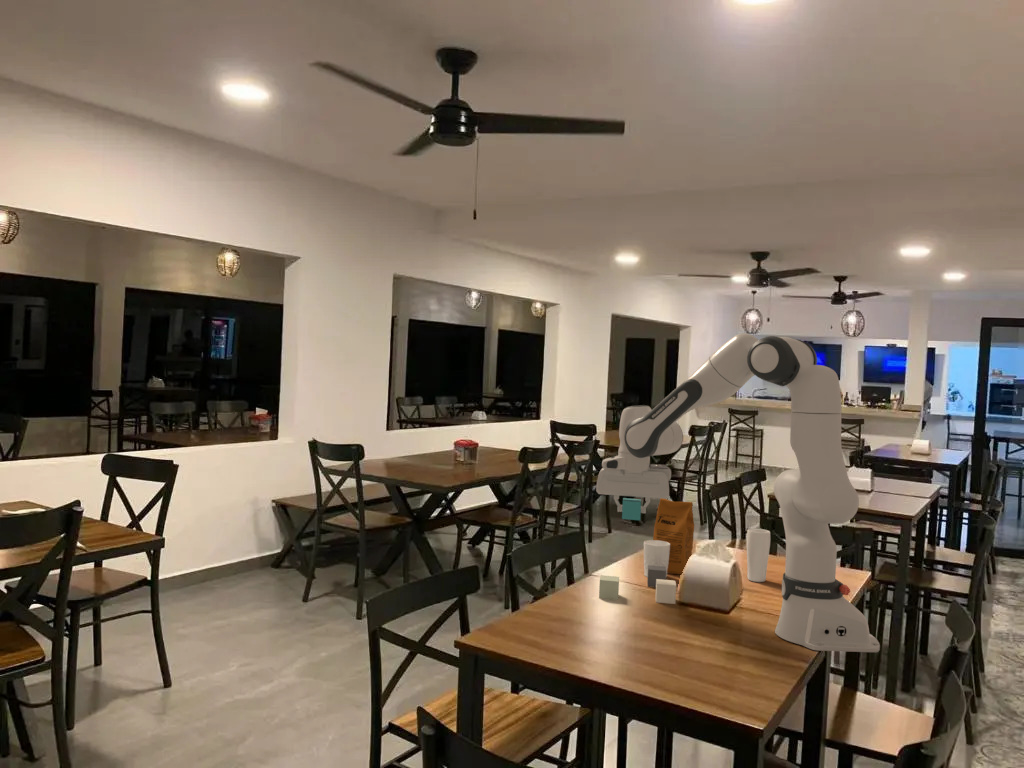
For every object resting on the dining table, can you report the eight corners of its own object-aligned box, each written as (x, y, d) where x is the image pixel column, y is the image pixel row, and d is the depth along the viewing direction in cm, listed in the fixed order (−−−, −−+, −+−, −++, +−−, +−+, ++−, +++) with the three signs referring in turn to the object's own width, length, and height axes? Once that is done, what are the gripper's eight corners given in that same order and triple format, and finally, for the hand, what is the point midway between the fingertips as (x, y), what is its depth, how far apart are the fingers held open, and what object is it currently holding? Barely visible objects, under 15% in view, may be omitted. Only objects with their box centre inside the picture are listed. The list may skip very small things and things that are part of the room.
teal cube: (640, 517, 215) (641, 499, 215) (640, 520, 210) (641, 502, 210) (622, 515, 216) (623, 498, 216) (621, 518, 211) (622, 500, 211)
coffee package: (660, 563, 245) (663, 495, 244) (696, 571, 237) (699, 500, 237) (645, 569, 237) (648, 498, 237) (682, 577, 229) (686, 504, 229)
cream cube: (674, 599, 206) (675, 580, 206) (675, 604, 201) (676, 585, 201) (655, 597, 207) (656, 579, 207) (656, 602, 202) (656, 583, 202)
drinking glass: (771, 583, 226) (773, 533, 225) (748, 582, 226) (750, 532, 225) (764, 577, 232) (766, 528, 232) (741, 576, 232) (744, 527, 232)
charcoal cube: (664, 583, 221) (665, 566, 221) (665, 588, 216) (666, 570, 216) (647, 582, 222) (648, 565, 222) (647, 586, 217) (648, 569, 217)
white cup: (649, 571, 234) (650, 538, 234) (673, 576, 230) (674, 543, 230) (637, 576, 228) (639, 542, 228) (662, 581, 223) (663, 547, 223)
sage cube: (618, 595, 207) (619, 576, 207) (617, 600, 202) (618, 581, 202) (599, 593, 208) (600, 575, 208) (598, 598, 203) (599, 579, 203)
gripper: (671, 464, 214) (668, 512, 215) (598, 459, 218) (595, 507, 218) (672, 466, 208) (669, 516, 208) (597, 461, 211) (594, 511, 212)
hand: (631, 512), depth 213 cm, fingers closed on teal cube, 5 cm apart
